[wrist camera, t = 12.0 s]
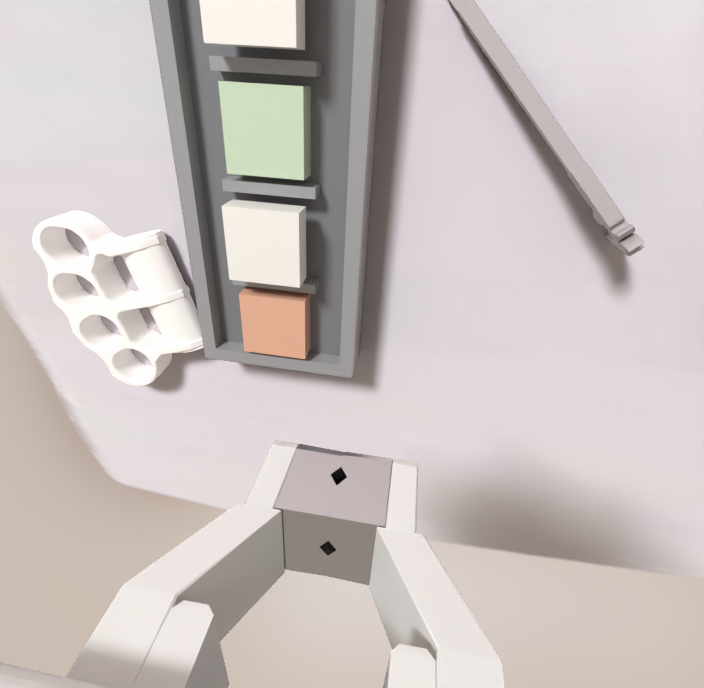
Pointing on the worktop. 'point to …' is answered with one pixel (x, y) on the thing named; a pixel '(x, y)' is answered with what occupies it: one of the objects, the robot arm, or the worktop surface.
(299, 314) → the block
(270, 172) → the key sage
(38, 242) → the knuckle duster
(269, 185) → the grey divided tray
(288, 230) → the off-white square tile
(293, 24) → the key cream end
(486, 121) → the worktop surface
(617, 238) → the caliper
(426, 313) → the worktop surface
